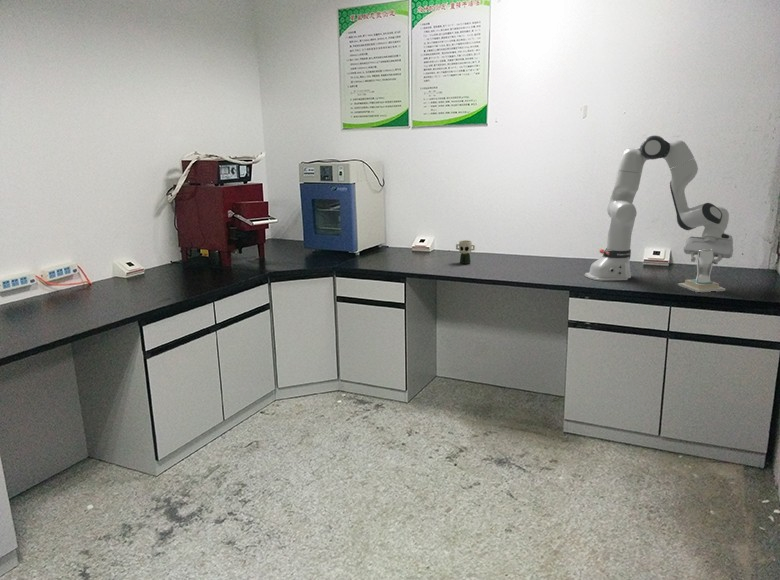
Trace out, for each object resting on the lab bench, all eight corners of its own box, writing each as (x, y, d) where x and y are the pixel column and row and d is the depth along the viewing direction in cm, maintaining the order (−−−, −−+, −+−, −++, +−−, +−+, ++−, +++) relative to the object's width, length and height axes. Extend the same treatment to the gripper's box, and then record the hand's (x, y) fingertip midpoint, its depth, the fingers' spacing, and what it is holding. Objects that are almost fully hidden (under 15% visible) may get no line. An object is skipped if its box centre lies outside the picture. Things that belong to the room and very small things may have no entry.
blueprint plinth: (697, 292, 260) (698, 285, 259) (677, 285, 273) (678, 278, 272) (725, 290, 262) (726, 284, 261) (704, 283, 275) (705, 277, 274)
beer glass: (706, 284, 261) (709, 252, 258) (691, 281, 267) (694, 249, 263) (714, 281, 265) (718, 250, 261) (699, 279, 271) (703, 248, 267)
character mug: (454, 264, 329) (454, 242, 326) (457, 261, 336) (457, 239, 332) (473, 265, 326) (473, 242, 322) (475, 262, 332) (476, 240, 329)
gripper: (687, 232, 273) (678, 255, 268) (735, 236, 260) (727, 261, 255) (688, 240, 277) (680, 263, 273) (736, 244, 264) (729, 269, 260)
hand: (703, 262), depth 264 cm, fingers open, 8 cm apart
